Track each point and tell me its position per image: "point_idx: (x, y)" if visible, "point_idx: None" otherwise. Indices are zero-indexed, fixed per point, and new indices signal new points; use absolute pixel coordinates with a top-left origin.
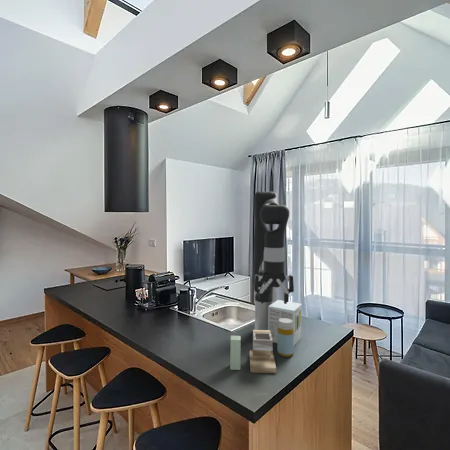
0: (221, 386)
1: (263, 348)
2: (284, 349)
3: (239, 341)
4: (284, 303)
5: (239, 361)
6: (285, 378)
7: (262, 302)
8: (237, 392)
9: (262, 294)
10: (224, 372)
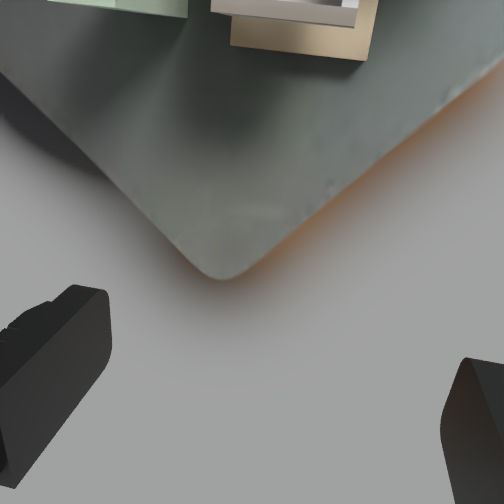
0: (113, 154)
1: (290, 21)
2: None
3: (113, 7)
4: (446, 405)
5: (167, 15)
6: (396, 111)
7: (93, 367)
8: (173, 196)
9: (8, 473)
10: (114, 42)
